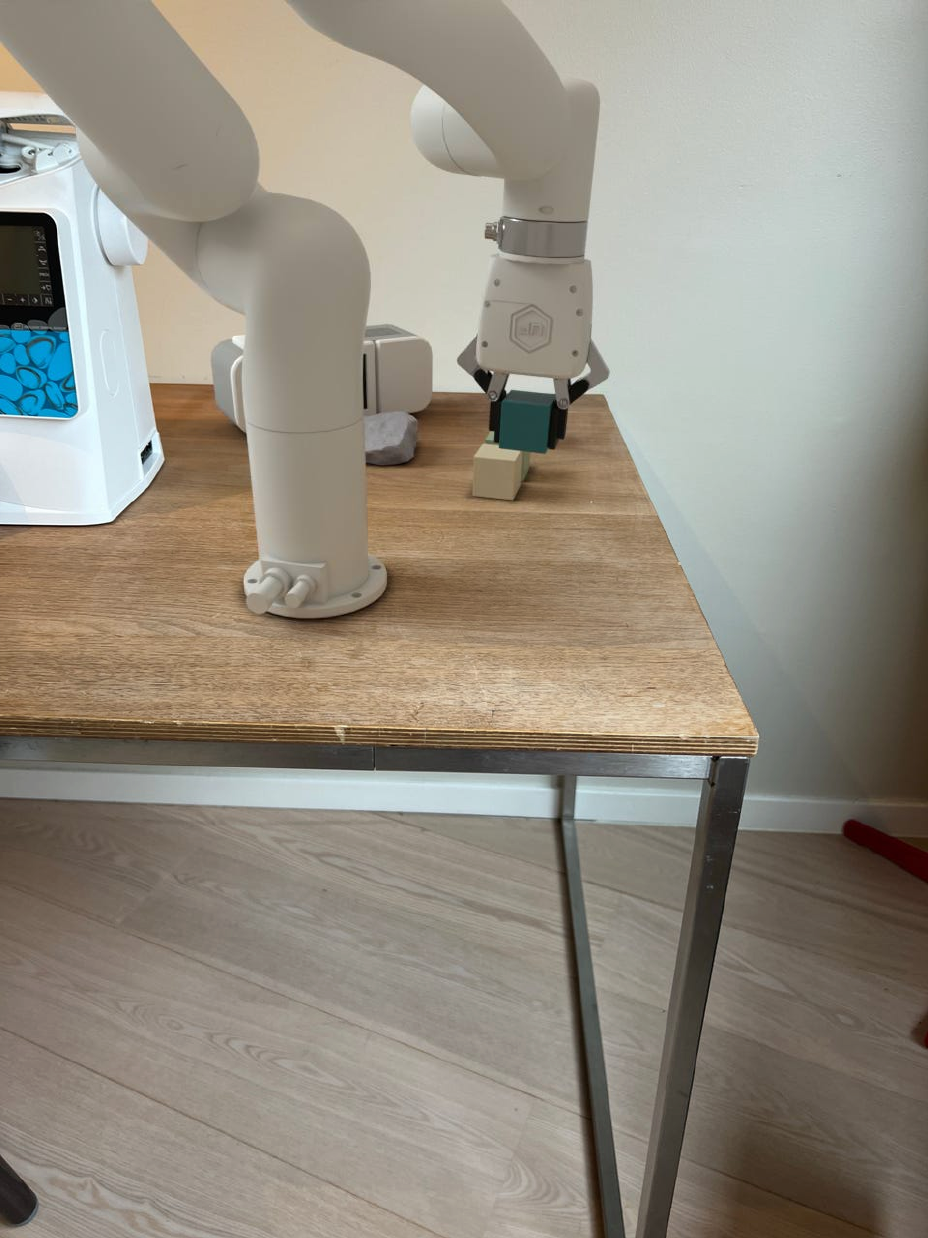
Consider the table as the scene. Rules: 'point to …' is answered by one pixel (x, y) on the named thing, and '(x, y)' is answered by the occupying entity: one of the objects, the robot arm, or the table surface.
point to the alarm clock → (389, 373)
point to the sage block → (524, 455)
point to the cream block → (496, 472)
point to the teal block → (526, 421)
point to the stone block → (390, 438)
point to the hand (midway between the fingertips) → (526, 440)
